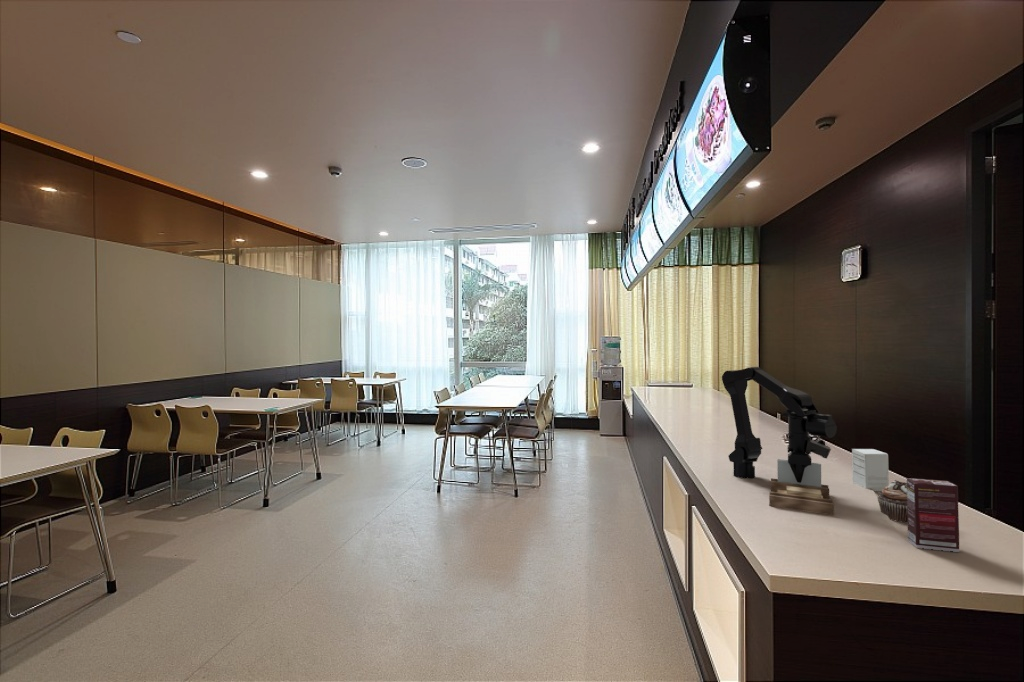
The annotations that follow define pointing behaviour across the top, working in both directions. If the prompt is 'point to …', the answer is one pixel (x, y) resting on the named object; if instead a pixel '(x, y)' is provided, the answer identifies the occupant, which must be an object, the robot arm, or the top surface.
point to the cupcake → (894, 501)
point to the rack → (800, 498)
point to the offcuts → (802, 492)
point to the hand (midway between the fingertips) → (798, 480)
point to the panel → (809, 476)
